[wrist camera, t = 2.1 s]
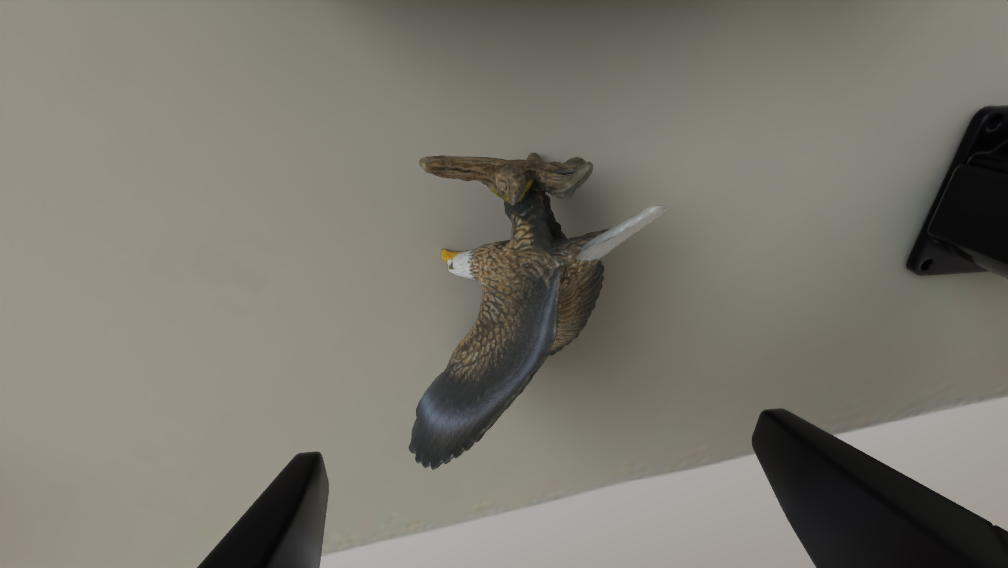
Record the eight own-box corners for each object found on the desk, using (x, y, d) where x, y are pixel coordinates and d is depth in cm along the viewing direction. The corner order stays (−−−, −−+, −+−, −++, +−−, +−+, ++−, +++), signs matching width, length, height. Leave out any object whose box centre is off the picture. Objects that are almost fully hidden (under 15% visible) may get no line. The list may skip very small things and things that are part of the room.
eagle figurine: (342, 146, 13) (358, 423, 16) (516, 163, 8) (497, 564, 11) (534, 150, 18) (521, 362, 21) (715, 162, 13) (669, 439, 16)
